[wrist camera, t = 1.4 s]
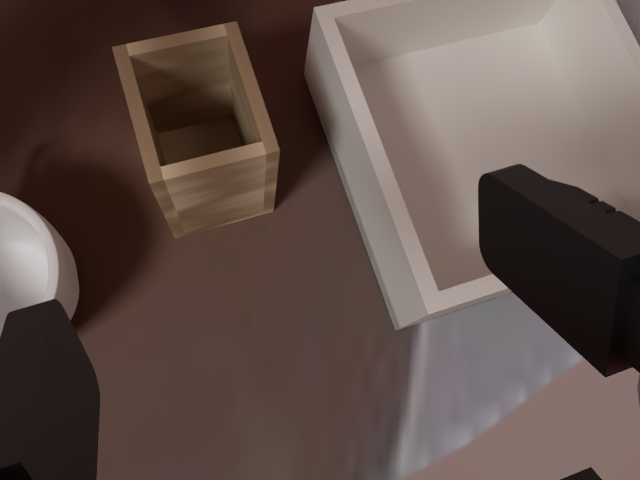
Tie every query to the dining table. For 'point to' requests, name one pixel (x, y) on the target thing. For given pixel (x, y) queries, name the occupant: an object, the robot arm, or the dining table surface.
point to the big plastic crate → (468, 125)
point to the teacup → (33, 261)
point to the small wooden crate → (200, 127)
